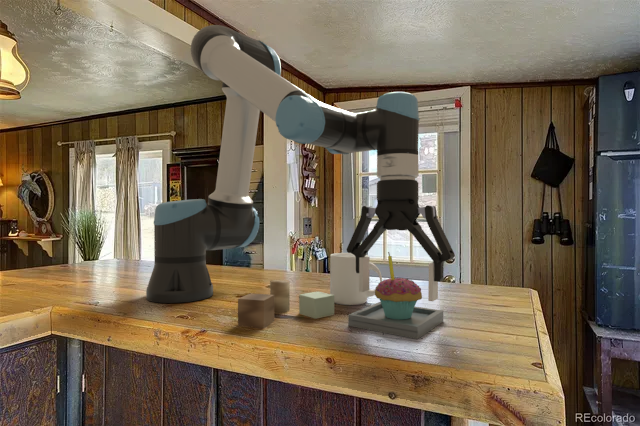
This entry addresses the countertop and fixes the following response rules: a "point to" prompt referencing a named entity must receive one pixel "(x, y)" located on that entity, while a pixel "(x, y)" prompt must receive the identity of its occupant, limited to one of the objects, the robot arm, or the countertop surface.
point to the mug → (348, 280)
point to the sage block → (316, 304)
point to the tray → (396, 321)
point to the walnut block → (255, 310)
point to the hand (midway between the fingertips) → (396, 295)
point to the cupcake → (397, 295)
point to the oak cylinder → (280, 295)
